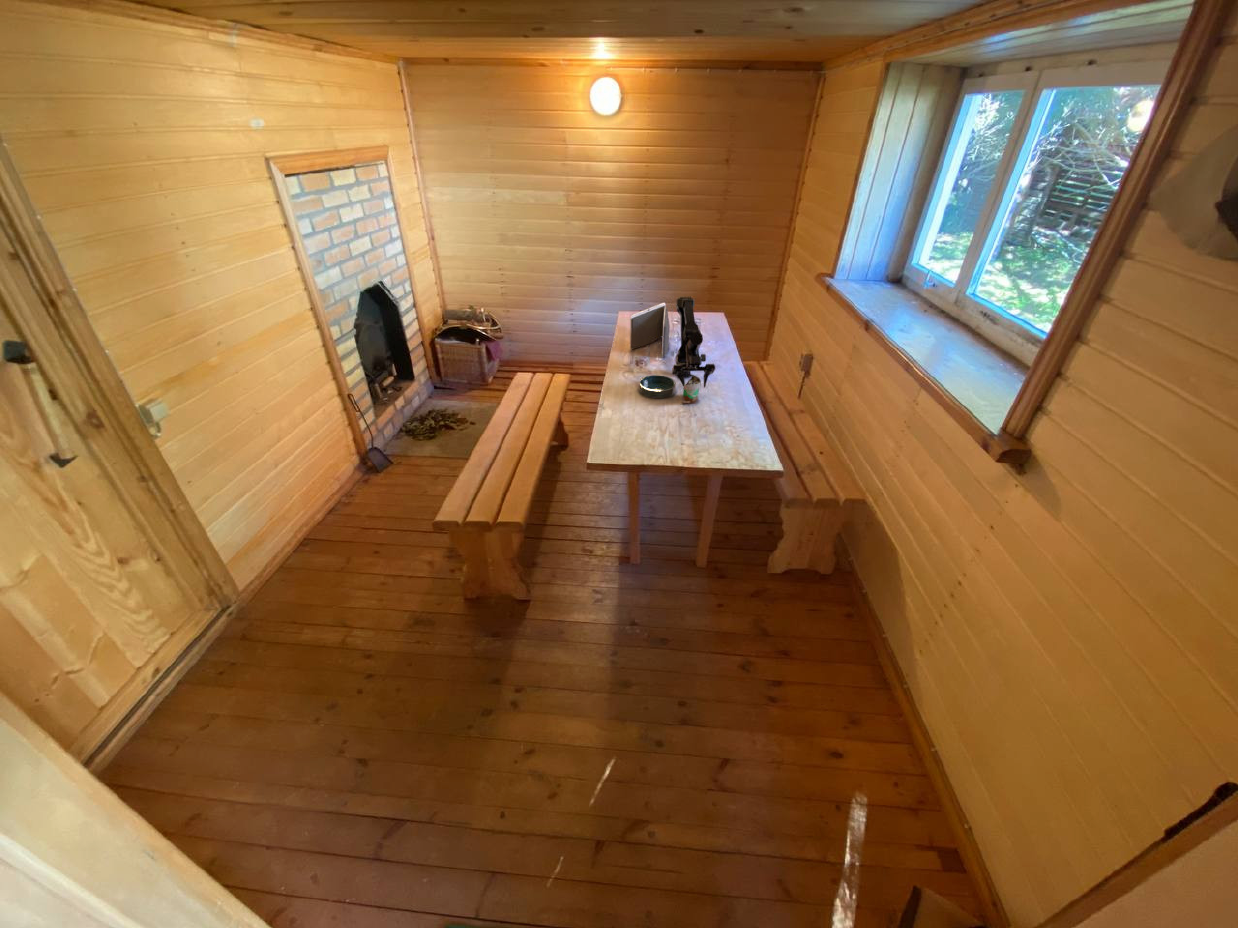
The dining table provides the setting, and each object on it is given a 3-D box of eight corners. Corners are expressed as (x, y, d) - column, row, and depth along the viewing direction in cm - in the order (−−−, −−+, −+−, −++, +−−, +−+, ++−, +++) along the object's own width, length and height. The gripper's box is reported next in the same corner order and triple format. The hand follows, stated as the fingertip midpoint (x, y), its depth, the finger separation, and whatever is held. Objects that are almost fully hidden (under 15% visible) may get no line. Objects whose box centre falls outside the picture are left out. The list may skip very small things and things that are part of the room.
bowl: (664, 380, 251) (665, 372, 249) (681, 394, 238) (682, 387, 236) (633, 386, 245) (633, 378, 243) (648, 401, 232) (649, 393, 230)
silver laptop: (668, 359, 272) (671, 323, 261) (628, 357, 273) (629, 322, 262) (668, 335, 301) (670, 302, 290) (631, 334, 302) (632, 301, 291)
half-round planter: (694, 408, 227) (696, 387, 222) (681, 405, 229) (683, 385, 224) (703, 396, 236) (705, 377, 231) (690, 394, 239) (692, 374, 233)
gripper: (674, 347, 222) (676, 381, 219) (717, 347, 223) (719, 380, 220) (671, 357, 233) (672, 389, 230) (711, 356, 234) (713, 389, 231)
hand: (694, 387), depth 227 cm, fingers open, 9 cm apart
